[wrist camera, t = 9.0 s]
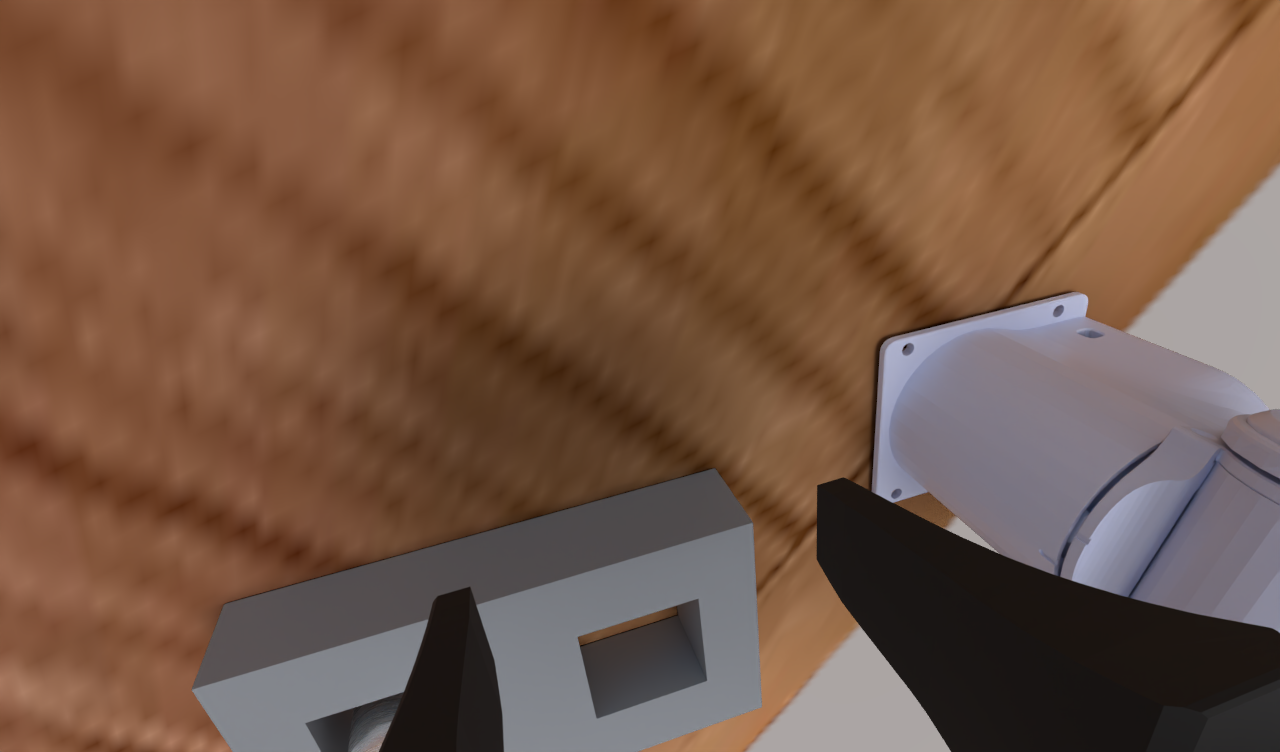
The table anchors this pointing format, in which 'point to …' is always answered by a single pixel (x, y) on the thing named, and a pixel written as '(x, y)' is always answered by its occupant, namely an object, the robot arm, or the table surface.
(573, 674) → the hole block
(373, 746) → the metal peg
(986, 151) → the table surface
